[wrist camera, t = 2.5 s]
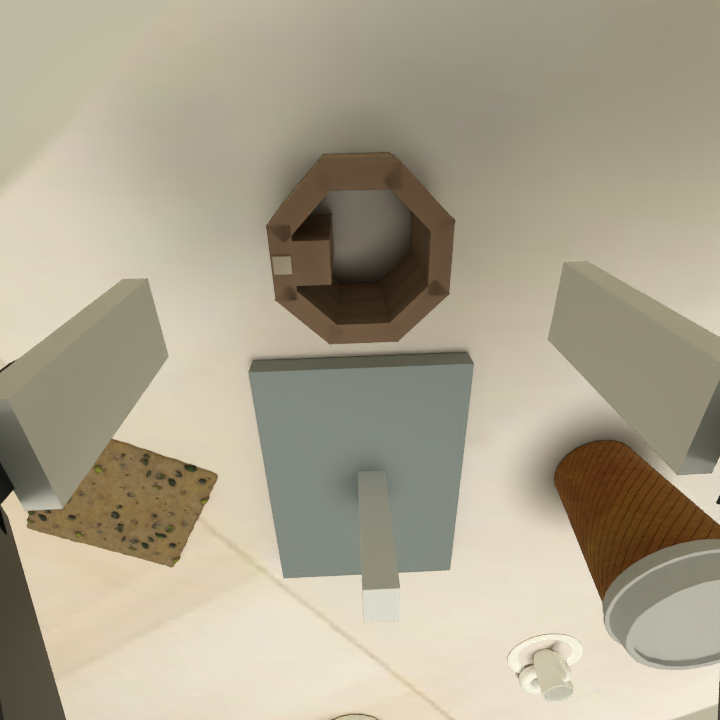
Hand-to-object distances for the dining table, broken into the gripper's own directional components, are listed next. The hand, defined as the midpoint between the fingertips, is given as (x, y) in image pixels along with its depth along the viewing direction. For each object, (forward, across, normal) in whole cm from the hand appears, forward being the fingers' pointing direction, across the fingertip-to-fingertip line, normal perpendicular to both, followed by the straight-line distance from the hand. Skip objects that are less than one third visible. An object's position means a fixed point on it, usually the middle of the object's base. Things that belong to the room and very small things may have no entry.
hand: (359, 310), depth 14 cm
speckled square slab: (+13, +18, +20) cm, 30 cm away
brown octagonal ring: (+12, 0, 0) cm, 12 cm away
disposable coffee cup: (+12, -18, +19) cm, 29 cm away
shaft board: (+12, 0, +18) cm, 22 cm away
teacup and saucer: (+12, -16, +46) cm, 50 cm away
